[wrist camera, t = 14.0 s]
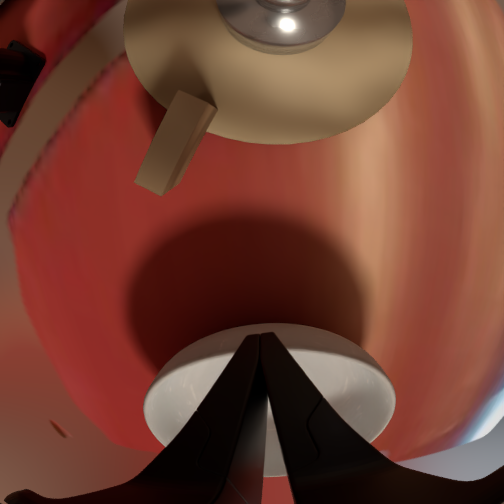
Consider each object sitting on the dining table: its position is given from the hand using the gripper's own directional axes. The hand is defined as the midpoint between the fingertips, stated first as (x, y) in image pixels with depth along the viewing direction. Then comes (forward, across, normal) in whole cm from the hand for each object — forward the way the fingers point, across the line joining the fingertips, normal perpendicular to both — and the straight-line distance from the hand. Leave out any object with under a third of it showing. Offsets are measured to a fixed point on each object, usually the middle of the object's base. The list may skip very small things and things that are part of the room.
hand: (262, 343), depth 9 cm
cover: (+10, -4, -14) cm, 18 cm away
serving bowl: (+12, +1, +16) cm, 20 cm away
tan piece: (+12, -3, -15) cm, 19 cm away
